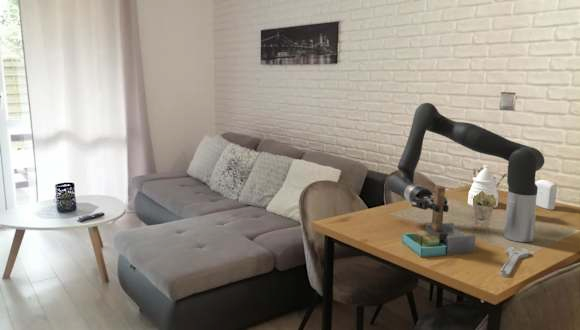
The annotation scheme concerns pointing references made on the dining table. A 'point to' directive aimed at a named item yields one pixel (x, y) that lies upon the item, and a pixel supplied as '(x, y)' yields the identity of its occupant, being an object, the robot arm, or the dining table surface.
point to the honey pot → (483, 185)
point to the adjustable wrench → (512, 260)
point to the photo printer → (546, 194)
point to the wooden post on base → (438, 215)
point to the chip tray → (426, 251)
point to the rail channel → (457, 240)
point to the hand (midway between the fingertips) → (443, 209)
